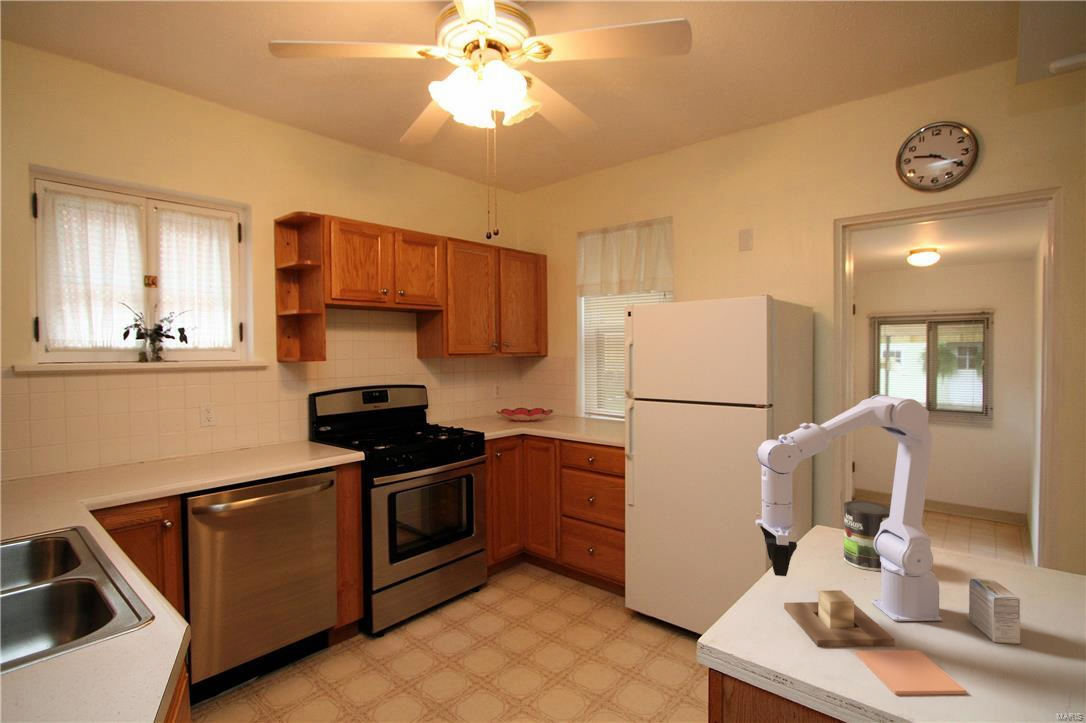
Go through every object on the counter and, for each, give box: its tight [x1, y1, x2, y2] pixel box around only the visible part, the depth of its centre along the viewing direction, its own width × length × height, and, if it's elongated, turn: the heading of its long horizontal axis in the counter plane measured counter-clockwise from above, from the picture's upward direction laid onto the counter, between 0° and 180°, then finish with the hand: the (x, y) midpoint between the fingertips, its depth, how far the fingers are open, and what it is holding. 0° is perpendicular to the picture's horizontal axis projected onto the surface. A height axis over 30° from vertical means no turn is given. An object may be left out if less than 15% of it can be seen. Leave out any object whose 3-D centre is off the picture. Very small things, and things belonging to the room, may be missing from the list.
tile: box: [855, 649, 967, 696], centre depth 90 cm, size 11×11×1 cm
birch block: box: [818, 589, 855, 628], centre depth 105 cm, size 4×4×6 cm
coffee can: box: [843, 500, 891, 572], centre depth 134 cm, size 10×10×14 cm
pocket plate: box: [783, 601, 896, 647], centre depth 106 cm, size 14×14×1 cm
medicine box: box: [968, 578, 1021, 645], centre depth 102 cm, size 8×4×9 cm, turn 168°
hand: (777, 567), depth 109 cm, fingers open, 7 cm apart
